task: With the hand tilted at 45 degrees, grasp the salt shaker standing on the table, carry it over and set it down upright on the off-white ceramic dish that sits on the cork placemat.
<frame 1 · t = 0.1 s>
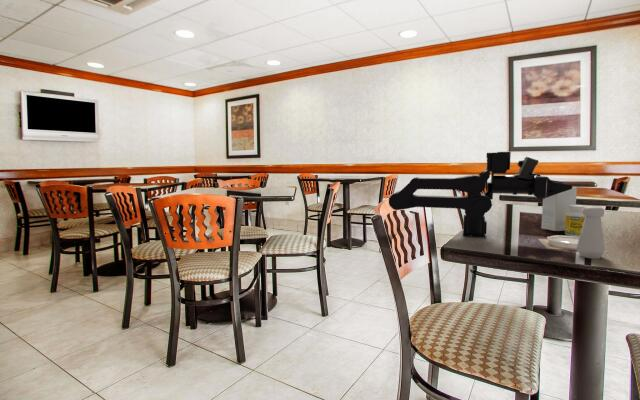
hand: (567, 185, 109), 17 cm above the table, tool horizontal, fingers open, 9 cm apart
dish: (570, 244, 104), resting on placemat
placemat: (570, 246, 104), on the table
supplement bottle: (574, 236, 117), on the table
salt shaker: (589, 258, 93), on the table
skincare box: (557, 230, 125), on the table
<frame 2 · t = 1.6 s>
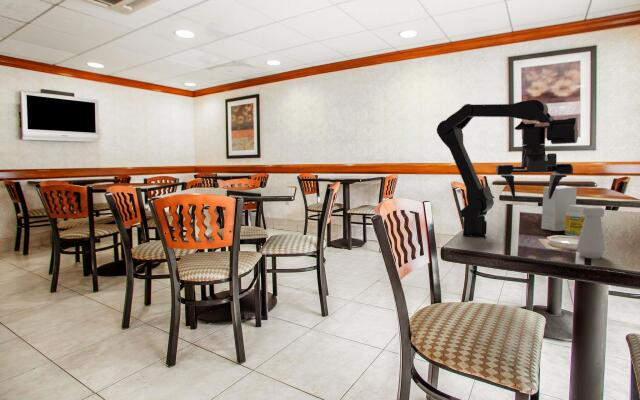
hand: (531, 198, 108), 13 cm above the table, tool pointing down, fingers open, 9 cm apart
nothing on the table moved.
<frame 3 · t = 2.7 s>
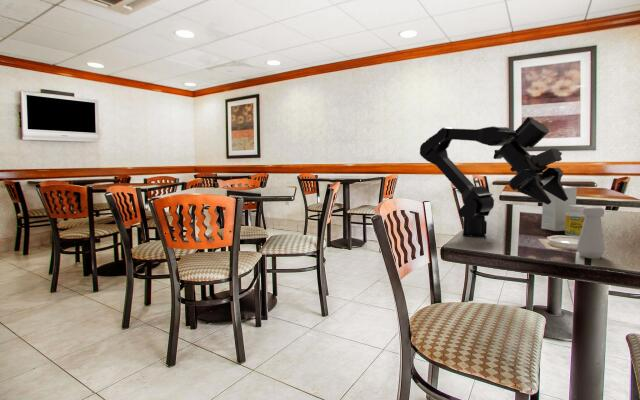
hand: (558, 201, 98), 13 cm above the table, tool tilted 45°, fingers open, 9 cm apart
nothing on the table moved.
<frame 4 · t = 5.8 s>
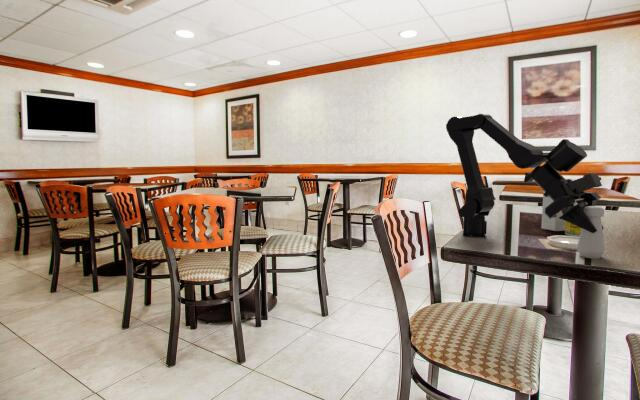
hand: (598, 231, 91), 7 cm above the table, tool tilted 45°, fingers closed on salt shaker, 3 cm apart
salt shaker: (590, 258, 93), on the table, touching gripper
everything else where it was.
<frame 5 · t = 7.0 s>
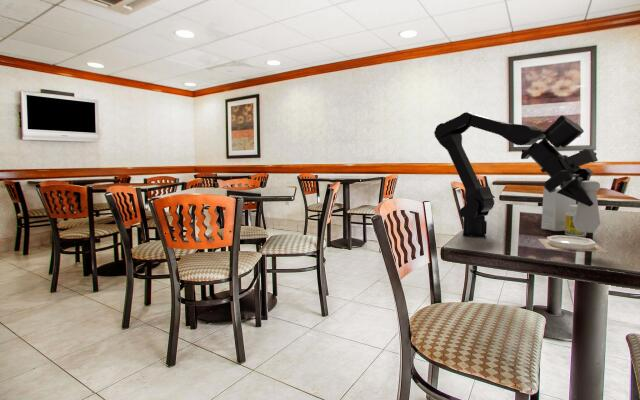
hand: (594, 204, 93), 13 cm above the table, tool tilted 45°, fingers closed on salt shaker, 3 cm apart
salt shaker: (585, 231, 95), point 6 cm above the table, touching gripper
everything else where it was.
when the fingers open (9 cm above the table, at t = 8.8 s): salt shaker stays where it is, resting on dish.
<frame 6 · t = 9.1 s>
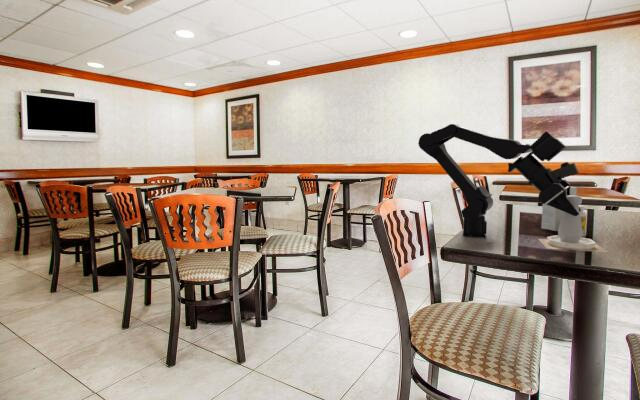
hand: (578, 213, 102), 10 cm above the table, tool tilted 45°, fingers open, 7 cm apart
salt shaker: (569, 242, 104), point 1 cm above the table, touching dish
everything else where it was.
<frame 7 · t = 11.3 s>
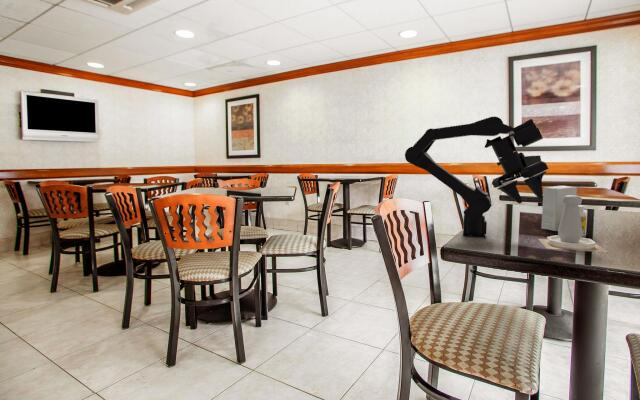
hand: (530, 200, 111), 12 cm above the table, tool tilted 25°, fingers open, 9 cm apart
nothing on the table moved.
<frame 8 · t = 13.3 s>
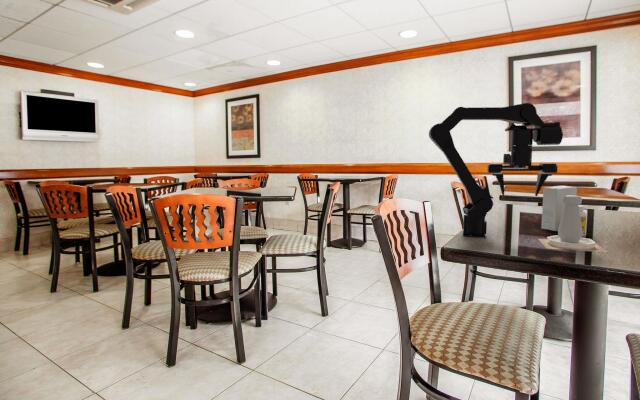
hand: (519, 195, 116), 13 cm above the table, tool pointing down, fingers open, 9 cm apart
nothing on the table moved.
at the end: salt shaker 0.2 cm from the dish (horizontally); salt shaker tilted 0°; the gripper is holding nothing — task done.
